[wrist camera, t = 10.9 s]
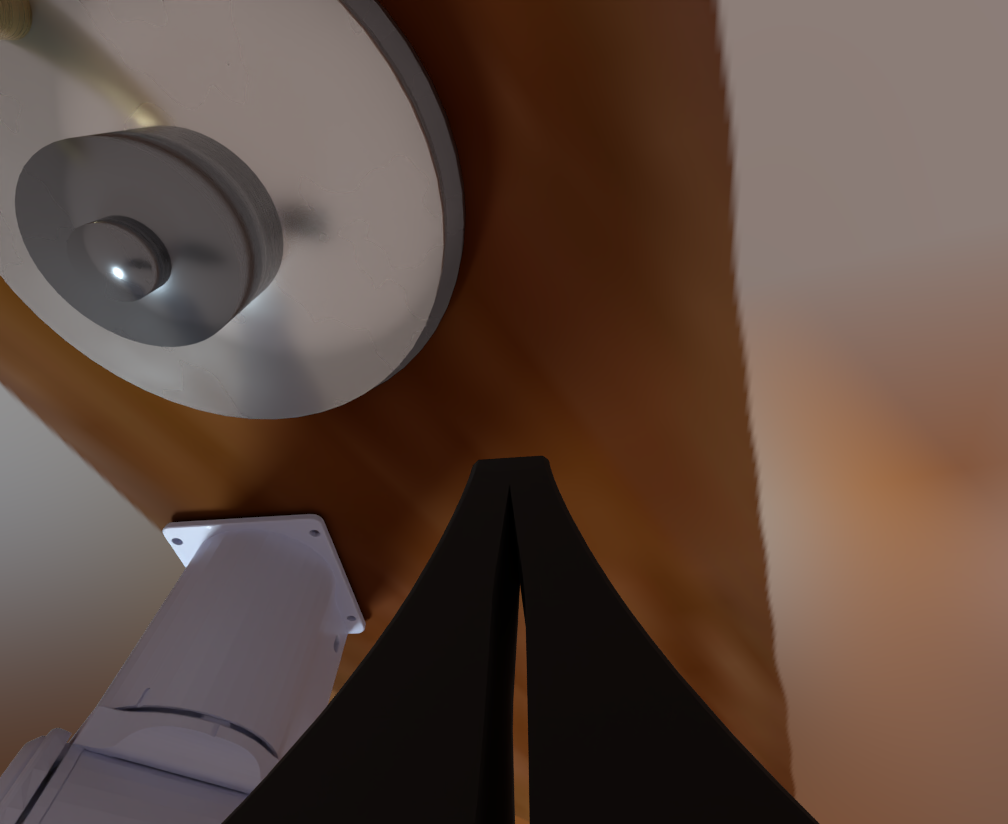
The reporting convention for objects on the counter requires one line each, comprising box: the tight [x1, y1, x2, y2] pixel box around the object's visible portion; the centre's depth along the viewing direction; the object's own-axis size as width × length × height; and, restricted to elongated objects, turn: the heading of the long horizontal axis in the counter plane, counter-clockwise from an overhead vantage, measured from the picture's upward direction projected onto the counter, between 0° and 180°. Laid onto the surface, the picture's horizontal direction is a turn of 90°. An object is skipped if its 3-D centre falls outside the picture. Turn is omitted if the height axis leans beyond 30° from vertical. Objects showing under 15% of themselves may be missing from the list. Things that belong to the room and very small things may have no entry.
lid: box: [15, 125, 284, 347], centre depth 13 cm, size 5×5×4 cm
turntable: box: [0, 0, 447, 419], centre depth 14 cm, size 14×14×5 cm
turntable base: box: [345, 0, 466, 389], centre depth 16 cm, size 15×15×1 cm
